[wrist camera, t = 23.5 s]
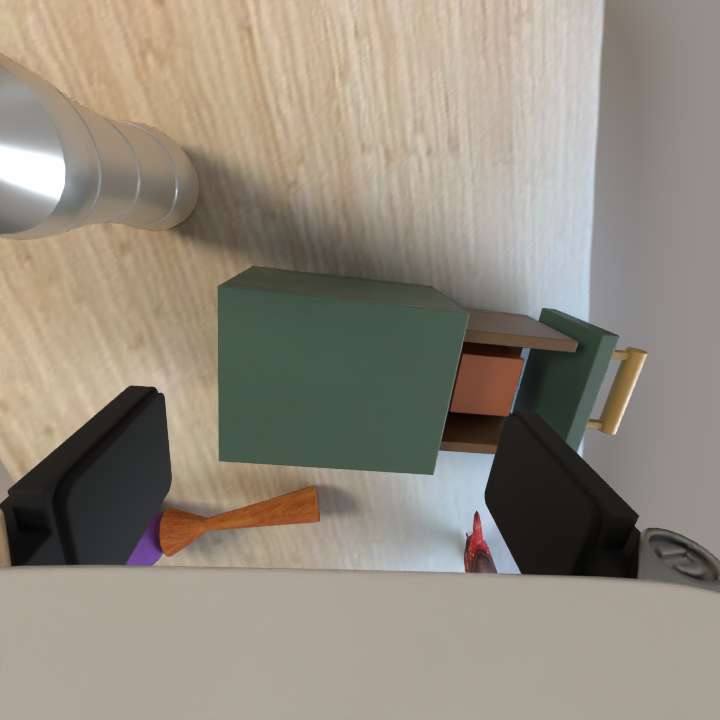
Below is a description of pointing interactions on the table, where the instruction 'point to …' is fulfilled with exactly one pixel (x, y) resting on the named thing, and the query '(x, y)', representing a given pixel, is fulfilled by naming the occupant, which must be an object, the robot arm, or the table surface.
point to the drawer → (549, 377)
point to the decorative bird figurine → (477, 551)
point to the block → (485, 379)
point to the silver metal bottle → (82, 165)
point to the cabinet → (334, 371)
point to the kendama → (221, 523)
